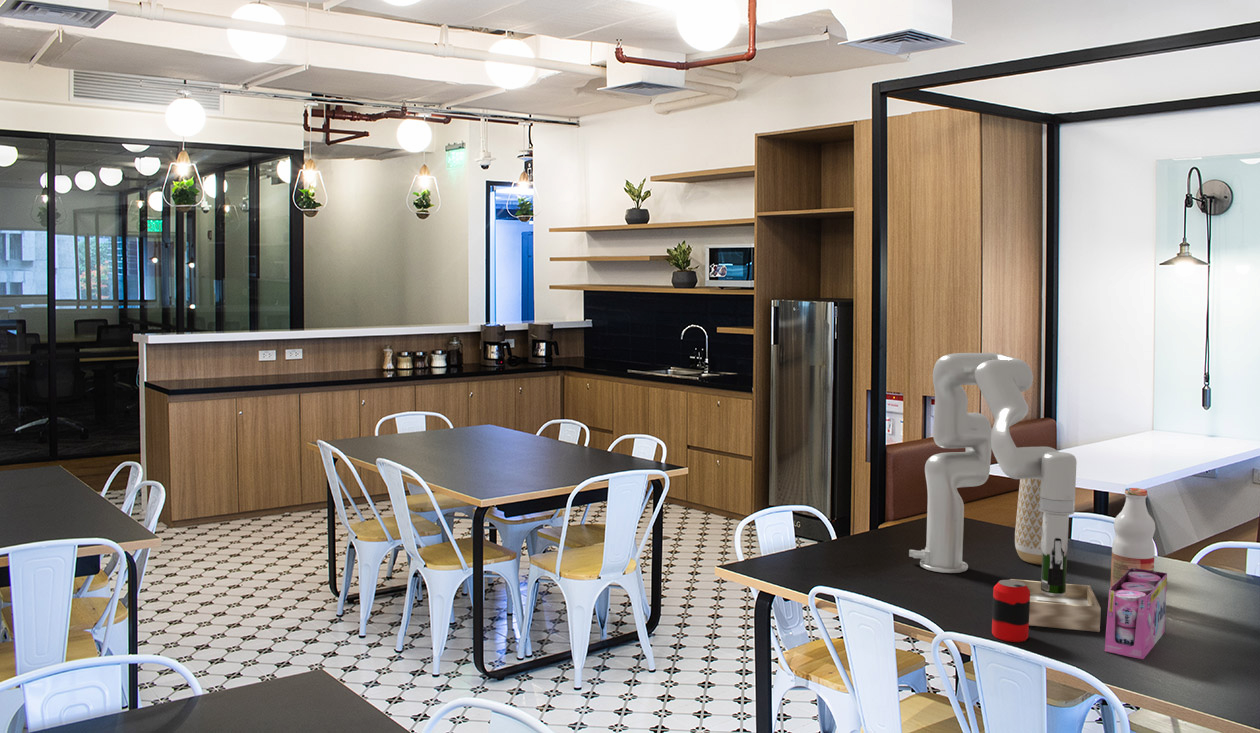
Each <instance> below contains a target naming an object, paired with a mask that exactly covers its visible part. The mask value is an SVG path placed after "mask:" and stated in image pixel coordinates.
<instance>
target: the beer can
mask: <svg viewBox="0 0 1260 733" xmlns="http://www.w3.org/2000/svg"><path fill="white" fill-rule="evenodd" d="M1063 553H1064V551H1063ZM1052 555H1055V553H1054V552H1052ZM1053 559H1055V558H1053ZM1053 559H1052V560H1053ZM1067 567H1068V547H1067V553H1066V556H1064V557H1063V585H1062V586H1053V585H1048V568H1050V554H1047V556H1046V555H1044V554H1043V552H1042V565H1041V576H1040V582H1041V590H1042V593H1043V594H1046V595H1049V596H1063V595H1064V594H1065V592H1066V584H1067V569H1068V568H1067Z"/></svg>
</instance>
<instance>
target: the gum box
mask: <svg viewBox="0 0 1260 733" xmlns="http://www.w3.org/2000/svg"><path fill="white" fill-rule="evenodd" d="M1167 583H1168V573H1167V572H1162V571H1155V570H1154V571H1150V570H1143V569H1137V568H1130V569H1129V570H1128V571H1127V572H1126V573H1125V575H1124V576H1123V577H1121V578H1120V579H1119V580H1118V581H1117V582H1116V583H1115V584H1114V585H1113V586H1112V587H1111V588H1109V590H1108V604H1107V605H1108V606H1107V613H1106V614H1107V616H1106V628H1105V642H1104V644H1105V645H1104V652H1105V653H1107V652H1108V653H1111V654H1117V655H1120V656H1125V657H1128V658H1129V657H1130V658H1134V659H1139V660H1144V659H1145V658H1146V656H1148V654H1149V653H1150V651H1151V650H1152V649H1153V648H1154V647H1155V645H1156V644H1157V643H1158V642H1159V640H1160V639H1161V638H1162V637H1163V635H1164V634H1165V628H1166V626H1165V625H1166V610H1167V609H1166V607H1167V606H1166V604H1167V603H1166V602H1167V585H1168V584H1167Z"/></svg>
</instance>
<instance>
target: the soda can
mask: <svg viewBox="0 0 1260 733" xmlns="http://www.w3.org/2000/svg"><path fill="white" fill-rule="evenodd" d="M1029 609H1030V590H1029V589H1028V587H1027V586H1026V584H1025V583H1023V582H1020V581H1016V580H1010V579H1001V580H999V581H997V583H996V584H995V585H994V586H993V593H992V619H991V620H992V622H991V634H992V635H993V637H994V638H996V639H998V640H1001V641H1004V642H1010V643H1011V642H1012V643H1022V642H1025V641H1027V639H1028V638H1029V633H1030V631H1029V630H1030V628H1029V626H1030V625H1029Z"/></svg>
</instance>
